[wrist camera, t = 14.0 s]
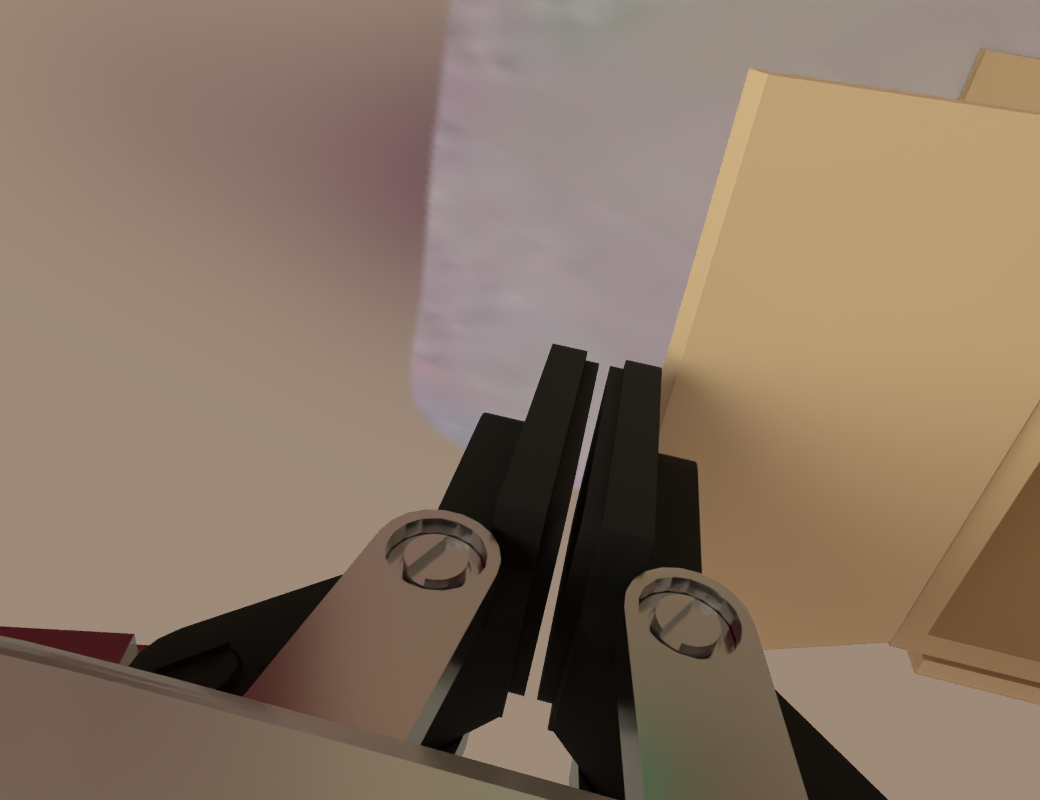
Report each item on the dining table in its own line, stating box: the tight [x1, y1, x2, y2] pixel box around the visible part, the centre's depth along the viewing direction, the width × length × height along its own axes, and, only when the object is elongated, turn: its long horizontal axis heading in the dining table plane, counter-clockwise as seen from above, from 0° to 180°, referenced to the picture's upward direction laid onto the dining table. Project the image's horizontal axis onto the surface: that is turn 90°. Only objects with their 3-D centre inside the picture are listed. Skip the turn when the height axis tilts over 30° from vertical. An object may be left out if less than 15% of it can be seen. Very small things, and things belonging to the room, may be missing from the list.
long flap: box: [658, 68, 1040, 650], centre depth 12 cm, size 1×11×7 cm
